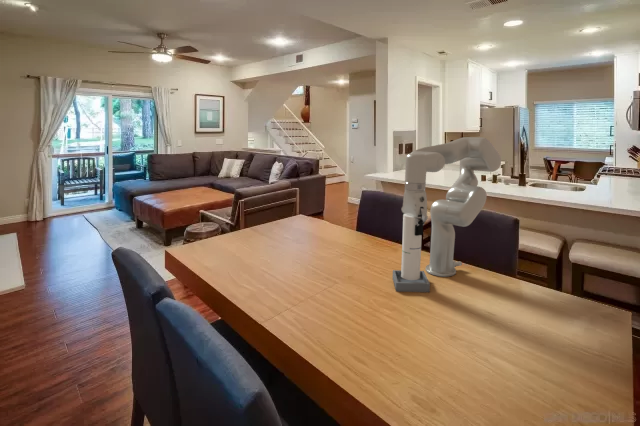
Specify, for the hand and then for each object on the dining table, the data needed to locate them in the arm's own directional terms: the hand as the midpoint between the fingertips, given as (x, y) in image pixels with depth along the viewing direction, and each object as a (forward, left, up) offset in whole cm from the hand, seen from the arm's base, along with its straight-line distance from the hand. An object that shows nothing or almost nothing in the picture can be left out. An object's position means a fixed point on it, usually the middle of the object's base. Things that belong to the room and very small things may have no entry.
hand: (412, 232), depth 139 cm
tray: (0, 0, -22) cm, 22 cm away
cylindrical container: (0, 0, -19) cm, 19 cm away
